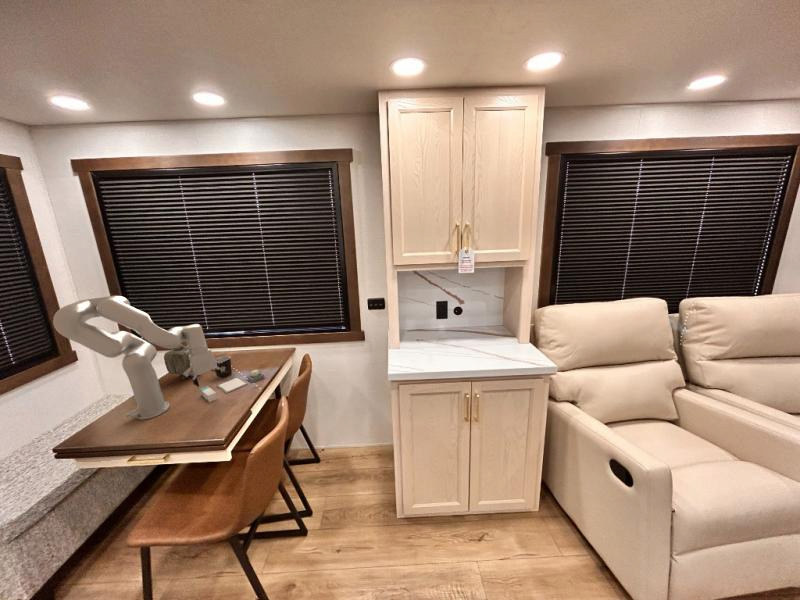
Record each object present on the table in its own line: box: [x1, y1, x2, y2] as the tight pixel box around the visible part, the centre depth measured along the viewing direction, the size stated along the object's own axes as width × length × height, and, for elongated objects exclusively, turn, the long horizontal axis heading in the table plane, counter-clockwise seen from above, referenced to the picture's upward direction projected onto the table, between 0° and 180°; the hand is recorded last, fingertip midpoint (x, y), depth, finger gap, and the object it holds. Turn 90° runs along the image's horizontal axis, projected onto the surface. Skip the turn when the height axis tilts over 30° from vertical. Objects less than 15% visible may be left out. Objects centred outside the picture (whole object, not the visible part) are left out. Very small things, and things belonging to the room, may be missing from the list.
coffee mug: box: [210, 355, 233, 379], centre depth 175 cm, size 12×9×10 cm
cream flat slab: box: [216, 377, 249, 395], centre depth 163 cm, size 11×13×1 cm
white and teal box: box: [200, 385, 218, 403], centre depth 153 cm, size 4×11×4 cm, turn 50°
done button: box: [250, 369, 260, 378], centre depth 168 cm, size 4×4×3 cm
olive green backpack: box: [163, 342, 192, 380], centre depth 174 cm, size 14×9×25 cm, turn 84°
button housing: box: [246, 371, 265, 383], centre depth 169 cm, size 6×6×2 cm
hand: (208, 380), depth 151 cm, fingers open, 9 cm apart
